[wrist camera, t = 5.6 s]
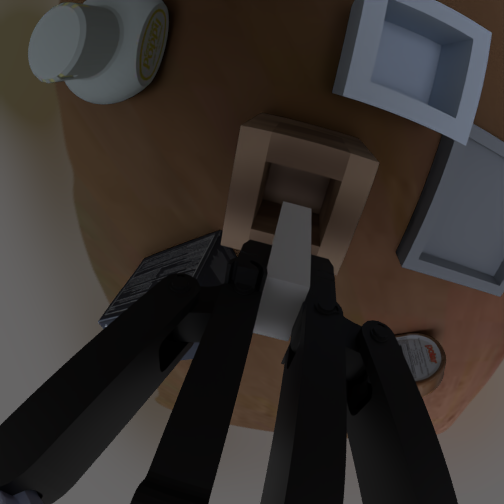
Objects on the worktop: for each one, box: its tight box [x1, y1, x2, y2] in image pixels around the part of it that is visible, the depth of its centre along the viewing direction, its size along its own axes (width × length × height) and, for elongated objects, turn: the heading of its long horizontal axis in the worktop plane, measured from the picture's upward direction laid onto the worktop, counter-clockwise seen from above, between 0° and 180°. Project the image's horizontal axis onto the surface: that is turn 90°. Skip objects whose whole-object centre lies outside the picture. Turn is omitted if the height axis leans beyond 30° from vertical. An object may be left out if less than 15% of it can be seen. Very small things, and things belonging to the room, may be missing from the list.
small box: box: [98, 230, 237, 360], centre depth 27 cm, size 11×6×10 cm, turn 116°
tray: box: [396, 124, 504, 297], centre depth 21 cm, size 14×14×2 cm
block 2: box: [332, 0, 492, 146], centre depth 15 cm, size 8×8×8 cm
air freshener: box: [28, 0, 169, 104], centre depth 16 cm, size 11×8×10 cm
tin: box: [395, 333, 446, 397], centre depth 29 cm, size 15×3×8 cm, turn 106°
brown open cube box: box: [221, 113, 379, 275], centre depth 21 cm, size 8×8×8 cm
